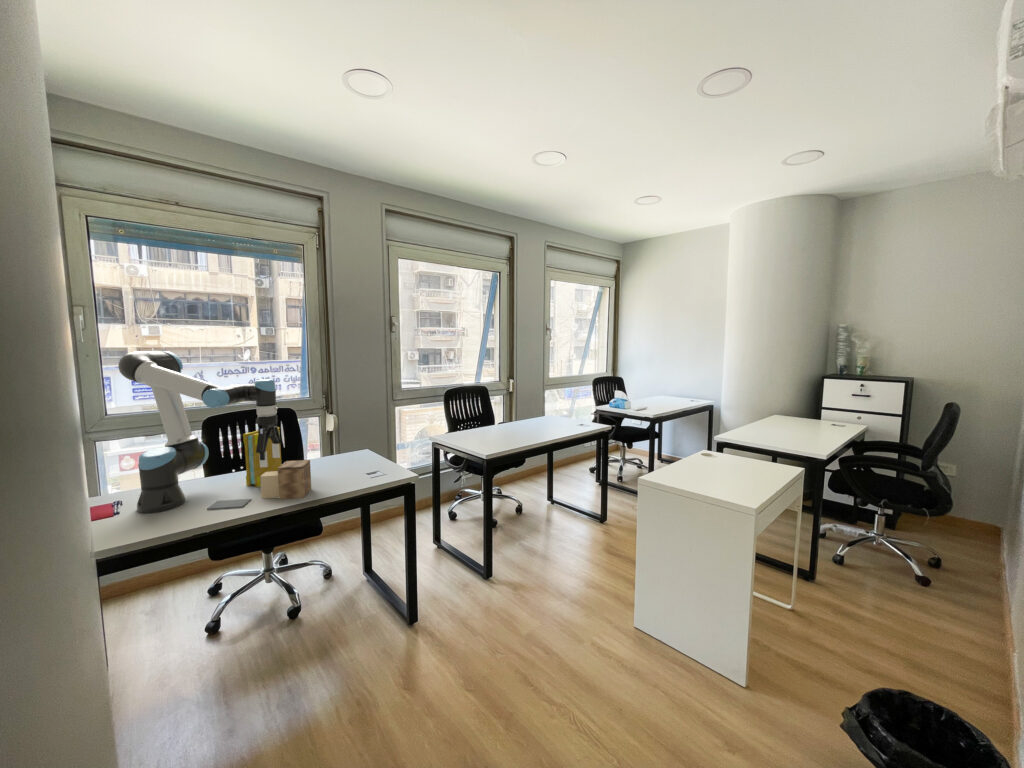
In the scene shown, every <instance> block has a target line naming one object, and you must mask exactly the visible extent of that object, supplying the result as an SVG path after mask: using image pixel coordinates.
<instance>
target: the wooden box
mask: <svg viewBox="0 0 1024 768" xmlns="http://www.w3.org/2000/svg"><path fill="white" fill-rule="evenodd" d="M311 471H312V470H311V459H296V460H294V459H293V460H286V461H284V462H283V463H281V466H280V467H278V482H279V497H278V499H279V500H285V499H286V500H287V499H303V498H305V497H306V496H307V495H308V494H309V492H310V491H312V477H311V476H312V473H311Z"/></svg>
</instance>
